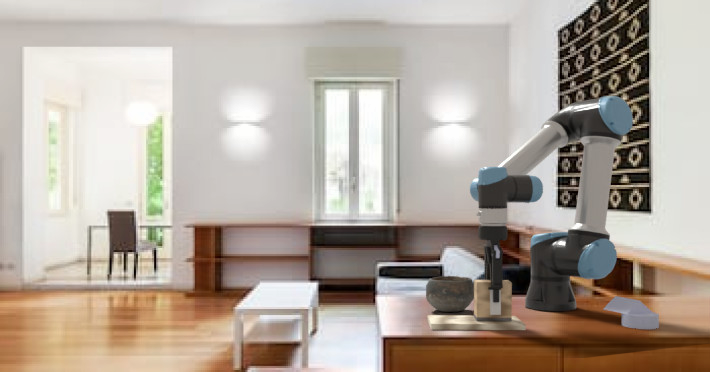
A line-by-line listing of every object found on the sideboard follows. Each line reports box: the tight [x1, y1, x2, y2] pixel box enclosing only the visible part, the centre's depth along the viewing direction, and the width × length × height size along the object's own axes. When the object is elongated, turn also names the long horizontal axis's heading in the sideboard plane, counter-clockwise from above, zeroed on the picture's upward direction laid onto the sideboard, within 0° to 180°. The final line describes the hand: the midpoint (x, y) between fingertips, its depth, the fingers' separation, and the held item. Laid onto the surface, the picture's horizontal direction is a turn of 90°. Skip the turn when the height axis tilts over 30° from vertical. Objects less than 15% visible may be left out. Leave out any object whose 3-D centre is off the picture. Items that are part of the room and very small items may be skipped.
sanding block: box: [473, 279, 513, 321], centre depth 167 cm, size 9×5×10 cm, turn 88°
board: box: [426, 314, 527, 331], centre depth 167 cm, size 24×12×2 cm, turn 88°
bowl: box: [425, 275, 474, 313], centre depth 188 cm, size 14×15×10 cm
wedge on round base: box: [603, 295, 660, 330], centre depth 168 cm, size 9×7×13 cm
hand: (493, 312), depth 166 cm, fingers closed on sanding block, 5 cm apart
